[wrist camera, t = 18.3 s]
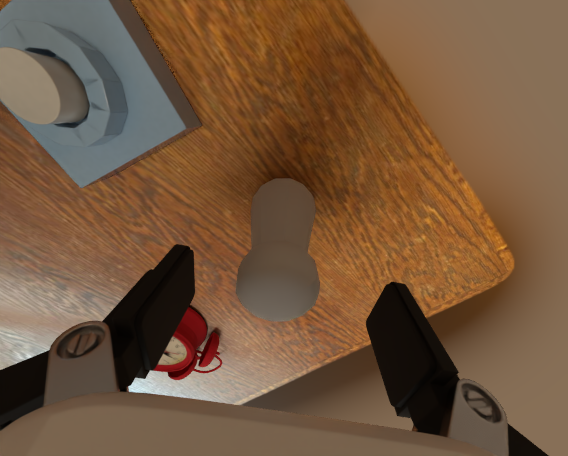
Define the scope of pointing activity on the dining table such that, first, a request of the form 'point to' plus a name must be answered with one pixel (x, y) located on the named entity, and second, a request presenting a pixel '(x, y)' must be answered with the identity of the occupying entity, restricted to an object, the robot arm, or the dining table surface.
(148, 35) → the square base with collar
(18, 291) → the dining table surface
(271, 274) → the salt shaker
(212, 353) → the alarm clock
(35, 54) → the round push button
